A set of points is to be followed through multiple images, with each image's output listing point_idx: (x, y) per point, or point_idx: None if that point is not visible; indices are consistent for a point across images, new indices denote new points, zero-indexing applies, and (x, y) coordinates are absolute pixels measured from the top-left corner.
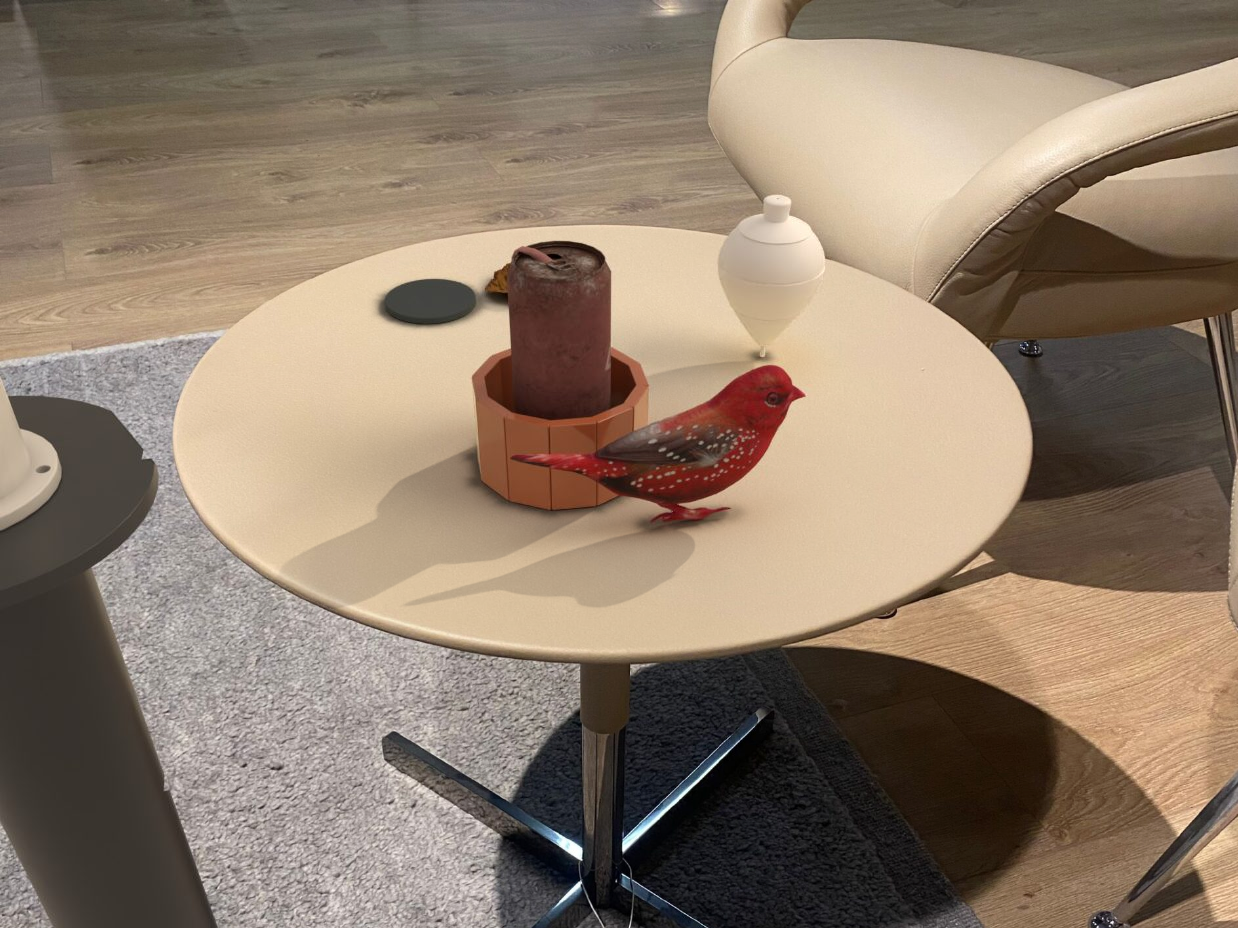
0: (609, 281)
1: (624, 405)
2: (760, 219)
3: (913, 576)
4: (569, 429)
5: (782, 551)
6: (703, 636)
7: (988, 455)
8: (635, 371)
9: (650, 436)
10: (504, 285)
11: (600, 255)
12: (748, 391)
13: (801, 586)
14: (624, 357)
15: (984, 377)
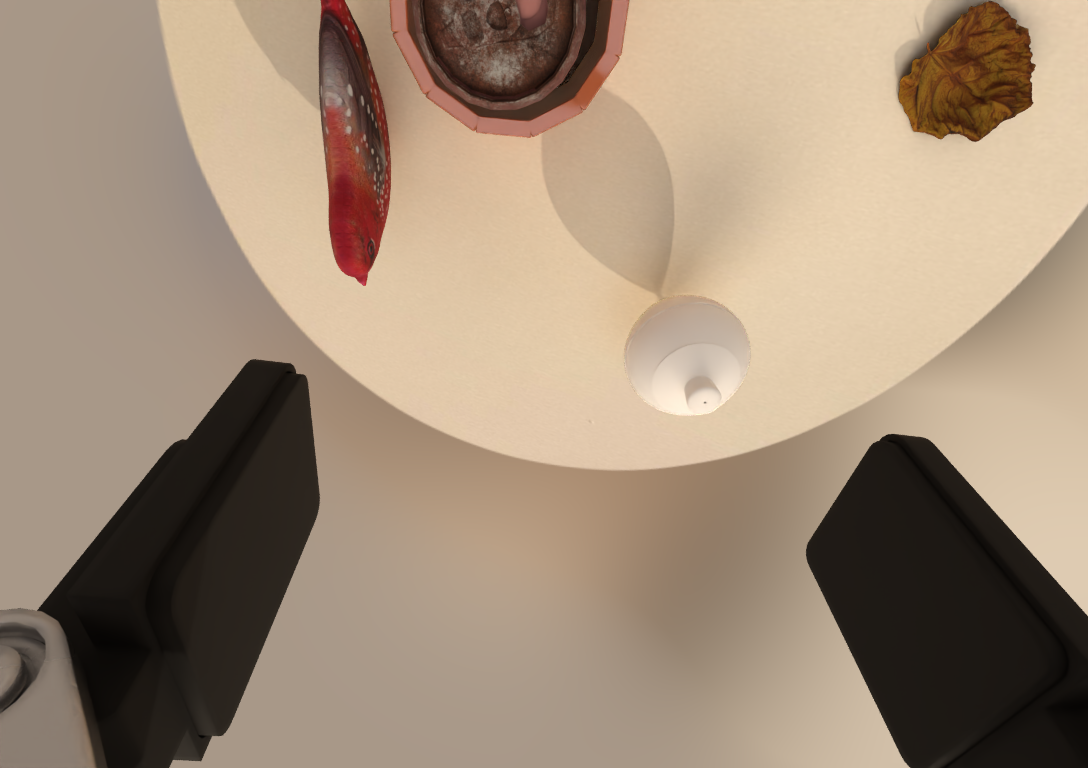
0: (463, 98)
1: (430, 84)
2: (705, 372)
3: (282, 294)
4: None
5: (321, 201)
6: (185, 78)
7: (448, 412)
8: (511, 125)
9: (325, 90)
10: (990, 40)
11: (511, 99)
12: (329, 223)
13: (267, 199)
14: (550, 121)
15: (564, 457)
